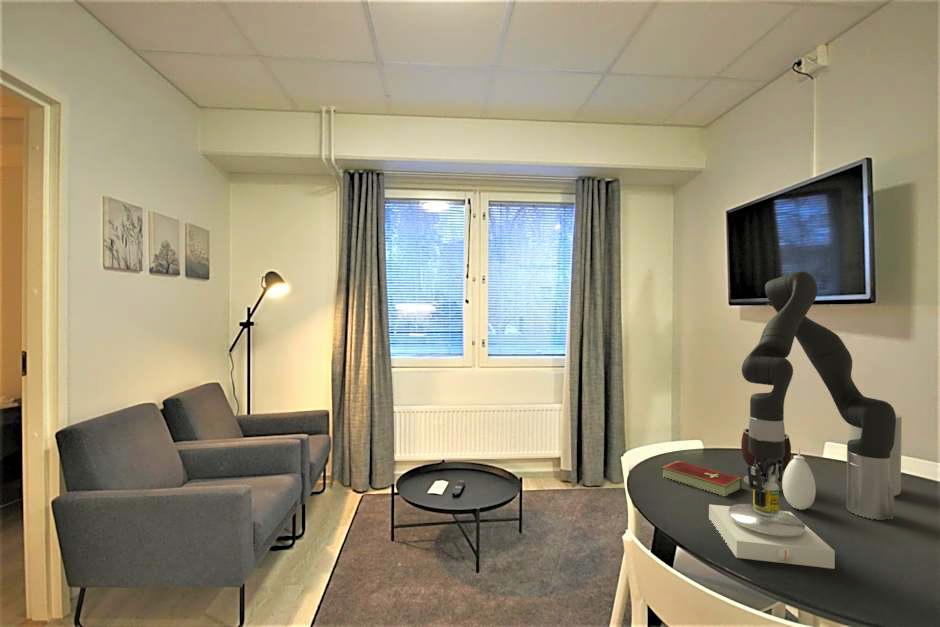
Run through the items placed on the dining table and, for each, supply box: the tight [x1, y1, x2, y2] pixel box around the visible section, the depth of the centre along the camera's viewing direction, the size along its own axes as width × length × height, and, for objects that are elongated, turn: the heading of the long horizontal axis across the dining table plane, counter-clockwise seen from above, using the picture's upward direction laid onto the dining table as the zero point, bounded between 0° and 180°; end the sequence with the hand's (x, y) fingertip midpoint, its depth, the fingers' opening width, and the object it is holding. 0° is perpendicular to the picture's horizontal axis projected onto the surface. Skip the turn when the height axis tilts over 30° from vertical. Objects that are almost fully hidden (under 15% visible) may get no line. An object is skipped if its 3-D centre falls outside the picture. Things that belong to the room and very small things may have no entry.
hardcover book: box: [661, 460, 743, 497], centre depth 149 cm, size 12×21×4 cm, turn 38°
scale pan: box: [729, 503, 806, 537], centre depth 111 cm, size 16×16×1 cm
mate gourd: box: [740, 427, 792, 492], centre depth 150 cm, size 16×14×20 cm
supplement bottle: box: [752, 474, 780, 516], centre depth 111 cm, size 5×5×10 cm
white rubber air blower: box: [782, 447, 817, 511], centre depth 130 cm, size 8×8×18 cm
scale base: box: [708, 503, 836, 570], centre depth 111 cm, size 20×20×4 cm
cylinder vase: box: [848, 413, 903, 496], centre depth 145 cm, size 12×12×25 cm
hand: (765, 502), depth 111 cm, fingers closed on supplement bottle, 5 cm apart
